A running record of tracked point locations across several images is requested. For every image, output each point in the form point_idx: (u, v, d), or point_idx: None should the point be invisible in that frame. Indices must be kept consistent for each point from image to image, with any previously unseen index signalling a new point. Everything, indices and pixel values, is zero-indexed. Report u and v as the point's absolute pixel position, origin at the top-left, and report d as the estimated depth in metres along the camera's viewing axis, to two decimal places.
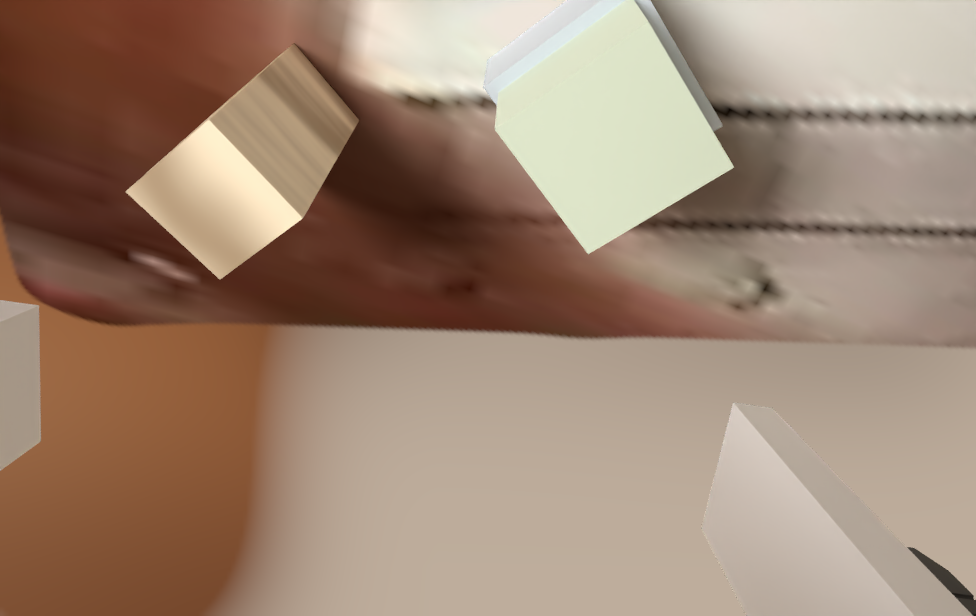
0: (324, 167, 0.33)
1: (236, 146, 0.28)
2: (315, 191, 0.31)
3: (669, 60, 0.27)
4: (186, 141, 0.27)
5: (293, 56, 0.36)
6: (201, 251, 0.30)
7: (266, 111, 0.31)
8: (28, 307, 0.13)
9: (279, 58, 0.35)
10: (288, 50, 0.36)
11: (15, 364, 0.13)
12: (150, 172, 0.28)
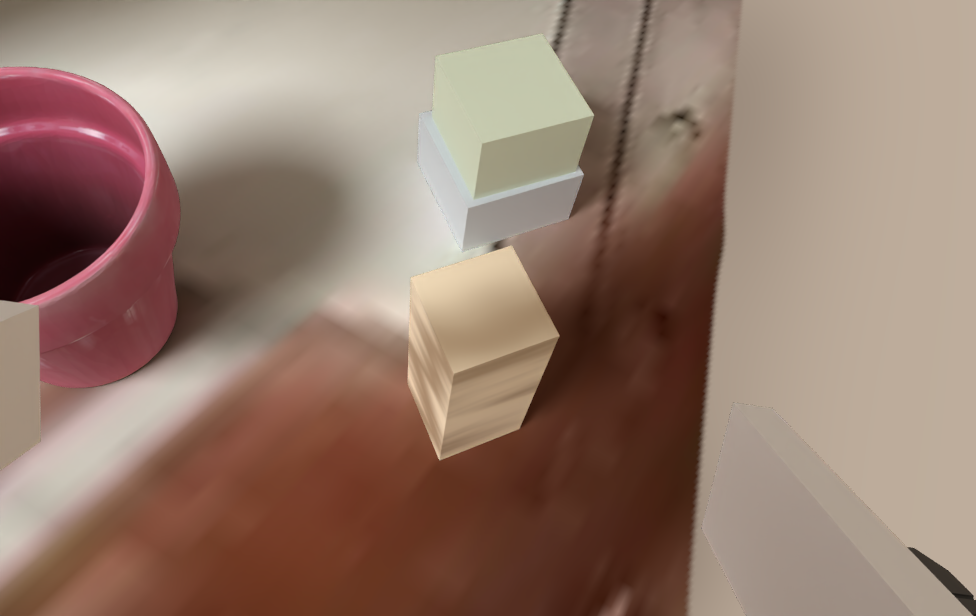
0: None
1: (438, 269, 0.32)
2: None
3: (462, 50, 0.42)
4: (423, 301, 0.31)
5: None
6: (527, 338, 0.31)
7: None
8: (28, 307, 0.13)
9: (409, 363, 0.40)
10: (409, 374, 0.41)
11: (15, 364, 0.13)
12: (441, 343, 0.31)
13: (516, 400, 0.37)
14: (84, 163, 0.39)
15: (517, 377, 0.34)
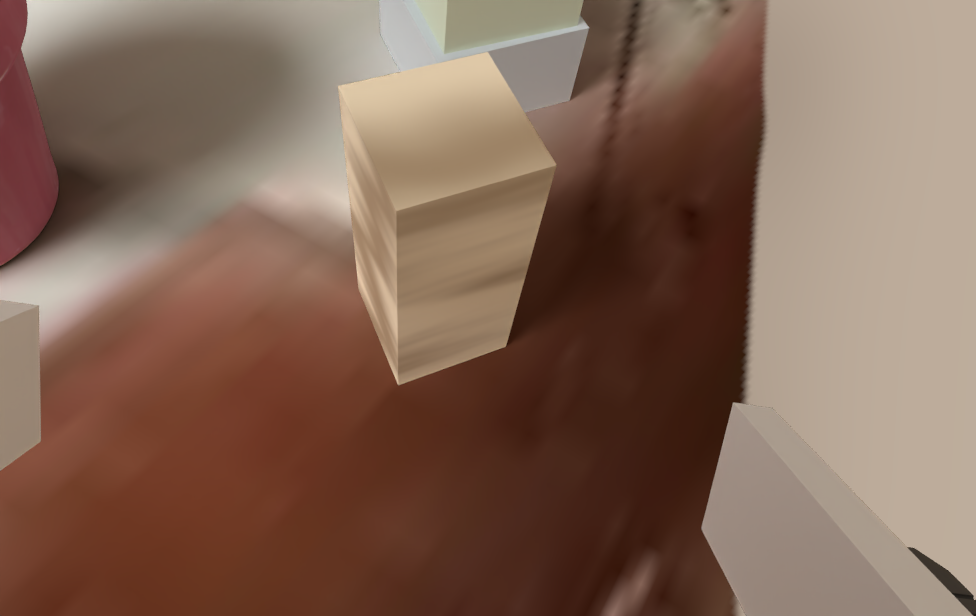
0: None
1: (380, 78, 0.22)
2: None
3: None
4: (354, 117, 0.21)
5: None
6: (508, 166, 0.21)
7: None
8: (28, 306, 0.13)
9: None
10: (358, 273, 0.31)
11: (15, 364, 0.13)
12: (379, 170, 0.20)
13: (498, 291, 0.27)
14: None
15: (497, 243, 0.24)
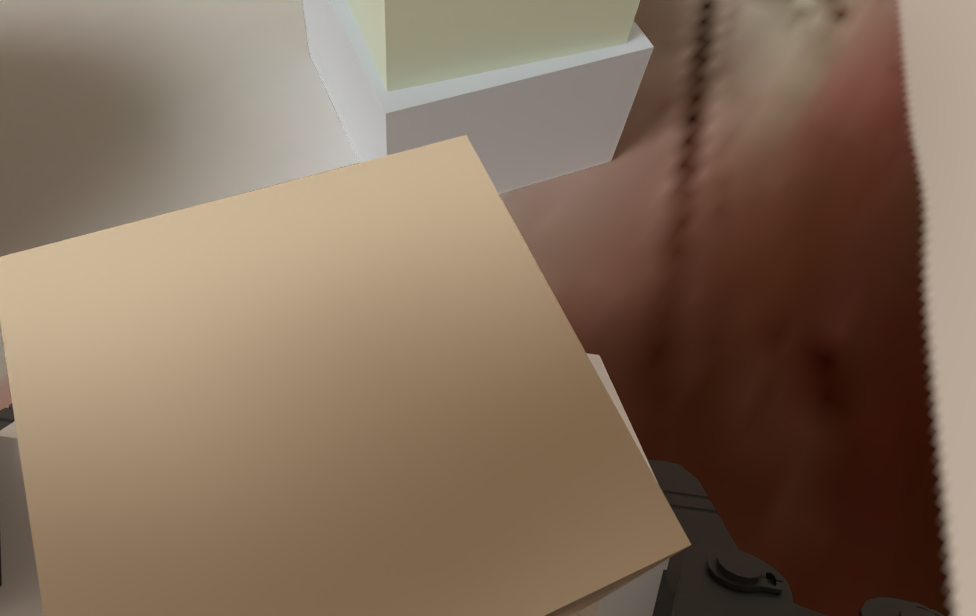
0: None
1: (139, 227, 0.07)
2: None
3: None
4: (16, 377, 0.06)
5: None
6: (529, 565, 0.06)
7: None
8: None
9: None
10: None
11: None
12: None
13: None
14: None
15: None
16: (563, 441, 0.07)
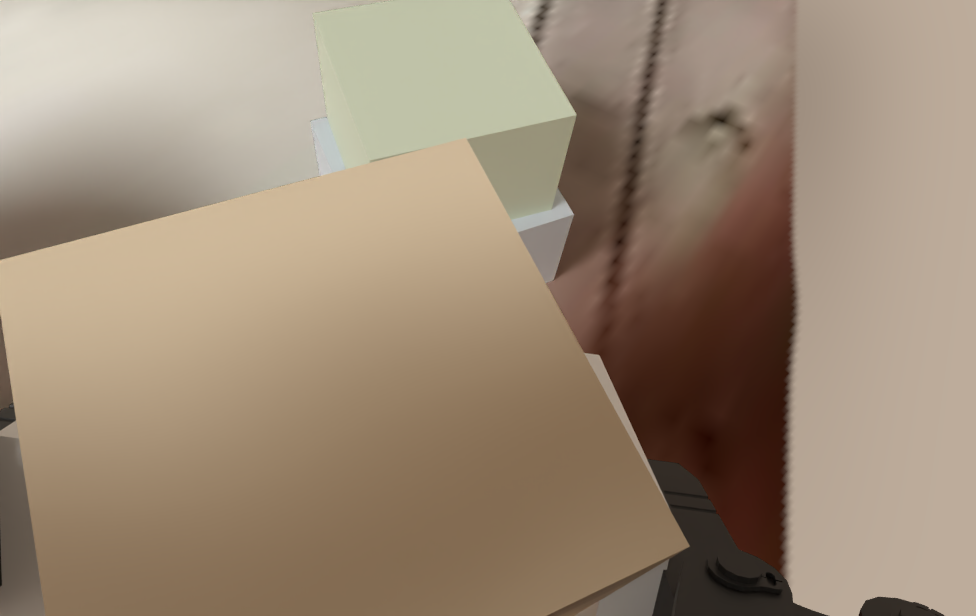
0: None
1: (141, 229, 0.07)
2: None
3: (360, 6, 0.25)
4: (18, 379, 0.06)
5: None
6: (528, 566, 0.06)
7: None
8: None
9: None
10: None
11: None
12: None
13: None
14: None
15: None
16: (562, 443, 0.07)
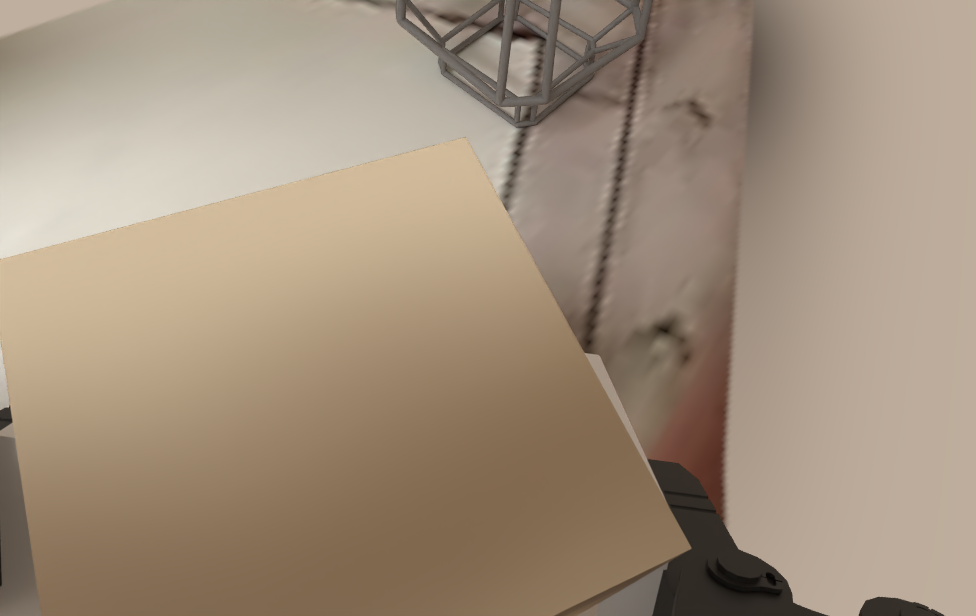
0: None
1: (139, 230, 0.07)
2: None
3: None
4: (14, 381, 0.06)
5: None
6: (529, 569, 0.06)
7: None
8: None
9: None
10: None
11: None
12: None
13: None
14: None
15: None
16: (563, 444, 0.07)
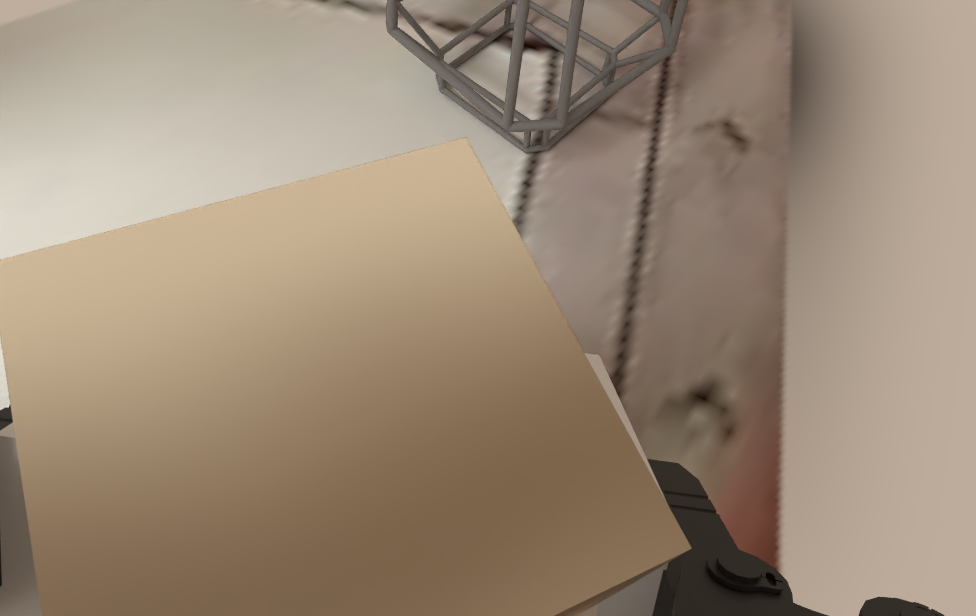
0: None
1: (138, 230, 0.07)
2: None
3: None
4: (15, 381, 0.06)
5: None
6: (529, 569, 0.06)
7: None
8: None
9: None
10: None
11: None
12: None
13: None
14: None
15: None
16: (563, 444, 0.07)
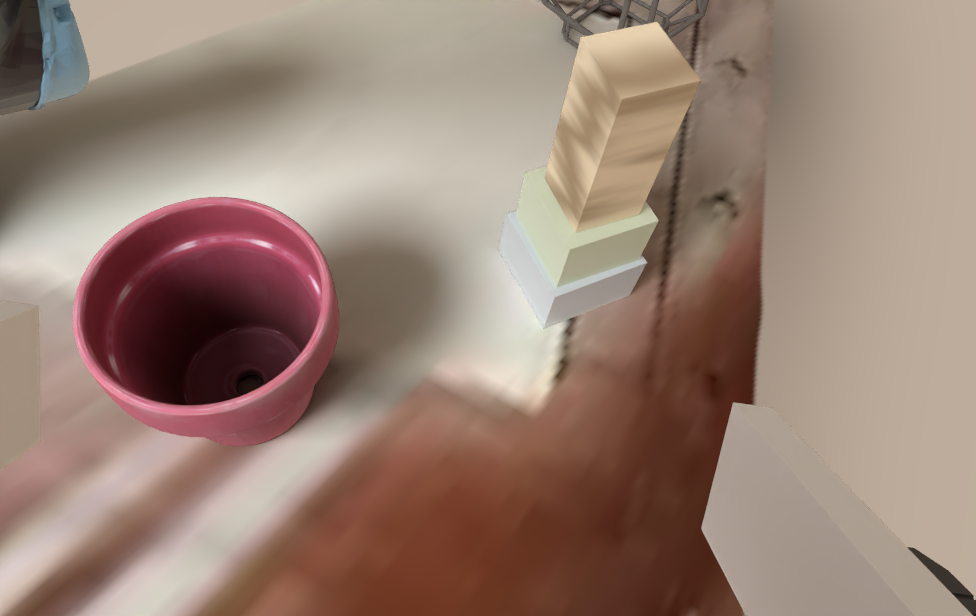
0: None
1: (601, 34, 0.41)
2: None
3: None
4: (592, 53, 0.40)
5: None
6: (675, 80, 0.39)
7: None
8: (28, 307, 0.13)
9: (552, 150, 0.48)
10: (548, 165, 0.50)
11: (15, 364, 0.13)
12: (610, 79, 0.39)
13: (649, 165, 0.45)
14: (250, 265, 0.48)
15: (658, 129, 0.42)
16: (679, 67, 0.40)
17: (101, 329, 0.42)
